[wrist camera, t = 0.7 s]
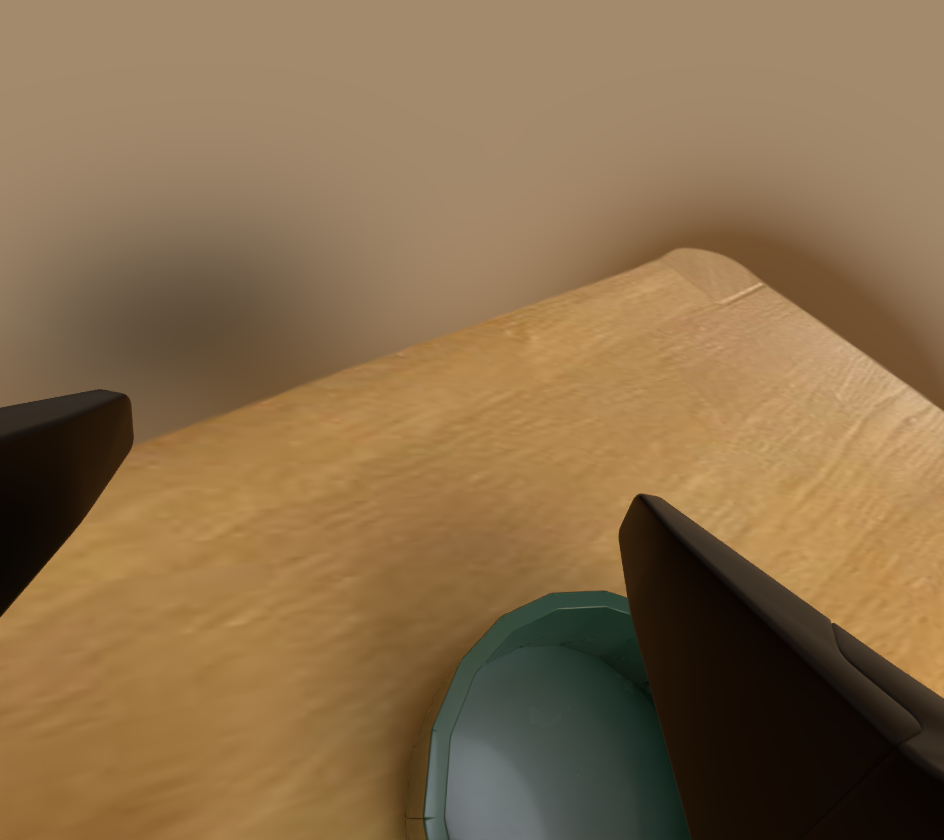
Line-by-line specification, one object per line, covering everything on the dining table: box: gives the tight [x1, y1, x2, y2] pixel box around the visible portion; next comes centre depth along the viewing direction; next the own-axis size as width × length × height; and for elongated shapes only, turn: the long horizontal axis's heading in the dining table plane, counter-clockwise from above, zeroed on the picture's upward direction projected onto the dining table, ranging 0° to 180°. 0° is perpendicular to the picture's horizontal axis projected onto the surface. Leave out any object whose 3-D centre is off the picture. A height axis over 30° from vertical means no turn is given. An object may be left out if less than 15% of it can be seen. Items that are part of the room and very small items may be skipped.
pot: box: [405, 591, 691, 840], centre depth 20 cm, size 13×19×6 cm
